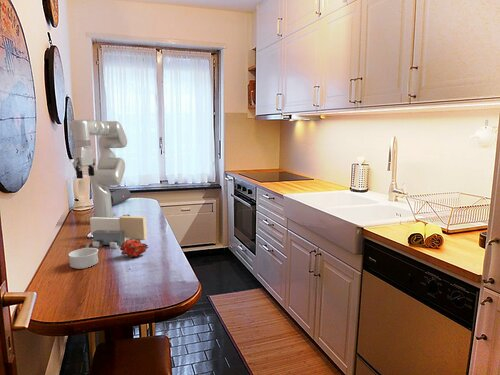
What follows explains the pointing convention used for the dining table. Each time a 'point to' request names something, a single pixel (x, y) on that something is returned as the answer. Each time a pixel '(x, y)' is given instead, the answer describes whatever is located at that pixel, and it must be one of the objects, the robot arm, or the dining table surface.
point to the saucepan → (83, 257)
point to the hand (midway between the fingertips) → (85, 176)
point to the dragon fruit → (133, 248)
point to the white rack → (120, 227)
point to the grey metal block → (108, 237)
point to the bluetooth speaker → (119, 196)
